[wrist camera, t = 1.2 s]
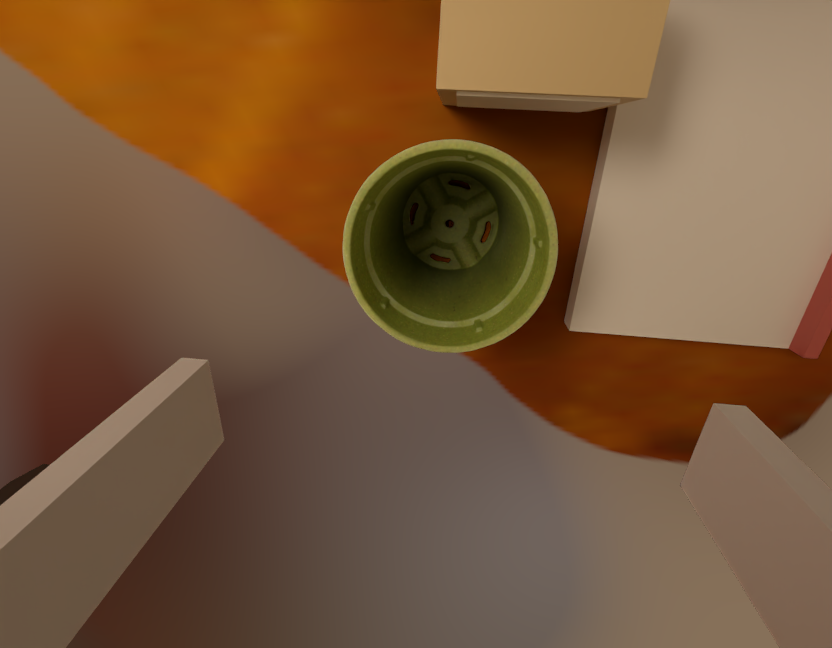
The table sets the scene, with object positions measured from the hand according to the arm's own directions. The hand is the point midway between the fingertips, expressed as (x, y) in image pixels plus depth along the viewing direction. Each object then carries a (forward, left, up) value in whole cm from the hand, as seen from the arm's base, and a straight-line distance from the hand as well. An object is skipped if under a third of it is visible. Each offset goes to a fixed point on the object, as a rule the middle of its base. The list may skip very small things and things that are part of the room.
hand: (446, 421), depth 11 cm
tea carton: (-11, +3, -17) cm, 21 cm away
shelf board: (-8, +15, -17) cm, 24 cm away
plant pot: (-2, 0, -18) cm, 18 cm away
